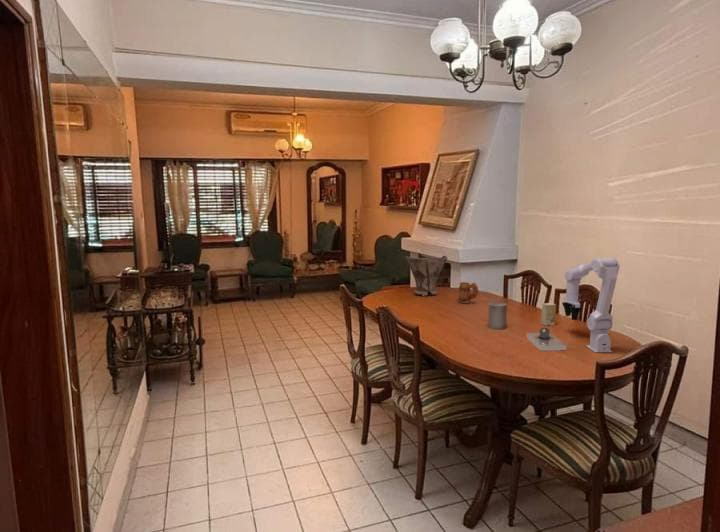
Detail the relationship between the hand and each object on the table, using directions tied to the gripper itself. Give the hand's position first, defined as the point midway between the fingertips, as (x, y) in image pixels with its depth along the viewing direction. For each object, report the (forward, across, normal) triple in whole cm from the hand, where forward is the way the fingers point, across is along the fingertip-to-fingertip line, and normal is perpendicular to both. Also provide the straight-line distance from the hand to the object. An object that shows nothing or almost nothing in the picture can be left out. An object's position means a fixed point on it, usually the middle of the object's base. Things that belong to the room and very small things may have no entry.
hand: (571, 317), depth 238 cm
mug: (+10, -73, -39) cm, 83 cm away
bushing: (+9, +12, -18) cm, 24 cm away
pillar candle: (+10, -16, -34) cm, 39 cm away
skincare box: (+10, -20, -4) cm, 23 cm away
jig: (+9, +14, -18) cm, 25 cm away
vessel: (+10, -103, -64) cm, 122 cm away
